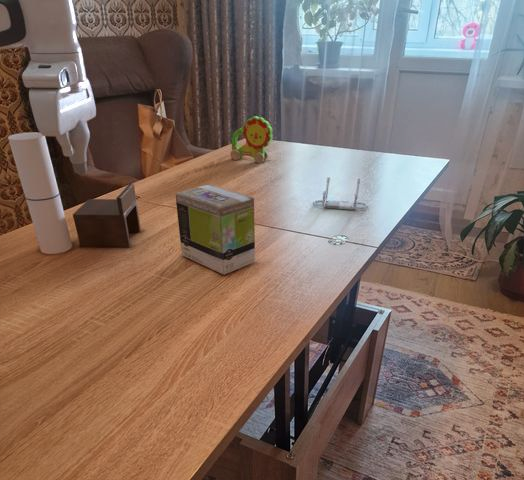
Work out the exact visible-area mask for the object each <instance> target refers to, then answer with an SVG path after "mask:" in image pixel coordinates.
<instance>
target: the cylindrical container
mask: <svg viewBox="0 0 524 480" xmlns="http://www.w3.org/2000/svg"><path fill="white" fill-rule="evenodd" d="M7 139H8V142H9V146H10V149H11V153H12V157H13V160H14V162H15V167H16V170H17V173H18V174H17V175H18V177H19V181H20V183H21V187H22V191H23V194H24V197H25V202H26V205H27V209H28V211H29V215H30V217H31V218H30V219H31V222H32V224H33V229H34V232H35V235H36V236H35V237H36V240H37V243H38V247H39V249H40V252H41V253H43V254H47V255H57V254H62V253H65V252H68V251H69V250H71V249H72V247H73V243H72V239H71V234H70V231H69V228H68V223H67V218H66V215H65V211H64V206H63V203H62V199H61V195H60V191H59V188H58V187H59V186H58V182H57V180H56V179H57V178H56V174H55V170H54V167H53V163H52V159H51V155H50V150H49V145H48V143H47V138H46V136H43V135H42V134H41V133H40V132H36V131H35V132H34V131H33V132H32V131H31V132H20V133H13V134H11V135H8V136H7Z"/></svg>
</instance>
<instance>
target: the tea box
mask: <svg viewBox="0 0 524 480" xmlns="http://www.w3.org/2000/svg"><path fill="white" fill-rule="evenodd" d="M174 196H175V203H176V213H177V223H178V233H179V242H180V251H181V256H183V257H184V258H187V259H189V260H191V261H193V262H195V263H197V264H200V265H201V266H204V267H206V268H208V269H210V270H212V271H215V272H218V273H219V274H221V275H224V276H225V275H227V274H230V273H232V272H234V271H237V270H240V269H242V268H245V267H247V266H249V265H251V264H253V263H255V261H256V244H255V243H256V239H255V238H256V237H255V235H256V234H255V233H256V232H255V197H253V196H251V195H247V194H243V193H239V192H236V191H234V190H231V189H230V190H229V189H226V188H223V187H220V186H217V185H213V184H208V183H207V184H205V185H202V186H201V185H200V186H197V187H194V188H189V189H186V190H182V191H179V192H175V195H174Z"/></svg>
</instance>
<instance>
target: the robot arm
mask: <svg viewBox="0 0 524 480" xmlns="http://www.w3.org/2000/svg"><path fill="white" fill-rule="evenodd" d="M73 2H74V1H73V0H0V50H8V49H9V50H10V49H21V48H27V49H28V52H29V56H30V60H29V62H28V64H27V66H26V68H25V69H24V71H23V72H22V74H21V79H22V82H23V86H24V87H25V88H27V89H29V91H28V99H29V103H30V107H31V112H32V115H33V119H34V123H35V125H36V128H37V130H38V132H39V133H41V134H42V135H43V136H45V137H55V138H56V141H57V142H58V144H59V146H60V147H61V151H62V154H63V156H64V157H71V156H73V155H74V154H75V151H74V145H72V144H71V142H70V139H69V137H70V134H69V131H70V130H72V129H74V128H75V127H76V125H77V122H78V120H80V119H81V120H82V121H83V122H84V123H85V124H86V125H87V127H88V128H89V126H88V122H89V121H90V120H92V119H94V118H96V116H97V106H96V101H95V98H94V93H93V88H92V86H91V83H90V80H89V78H88V77H87V73H86V66H85V61H84V56H83V50H82V47H81V45H80V43H79V40H78V36H77V25H78V23H77V16H76V11H75V7H74V3H73Z"/></svg>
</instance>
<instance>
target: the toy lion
mask: <svg viewBox="0 0 524 480" xmlns="http://www.w3.org/2000/svg"><path fill="white" fill-rule="evenodd" d="M265 119H266V118H264V117H259V116H258V115H255V116H252V117H251V118H248V119H246V121H245V123H243V125H242V127H241V128H238V129H237V130H235V131H234V132H233V133H232V135H231V136H232V137H231V151H230V158H231V159H232V160H233V161H238V160H239V159H241V158H243V157H244V156H246V157H247V156H248V157H251V158H253V159H254V161H255V163H257V164H262V163H263V162H264V161H266V160H267V159H268V158H269V152H268V151H267V150H266V147H269V145H270V144H271V142H272V140H273V139H274V138H273V137H274V135H273V127H272V126H271V124H270V122H269V121H268V120H265ZM240 135H242V136H243V137H244V139H245V144H243V145H241V146H239V144H238V138H239V136H240Z"/></svg>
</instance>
